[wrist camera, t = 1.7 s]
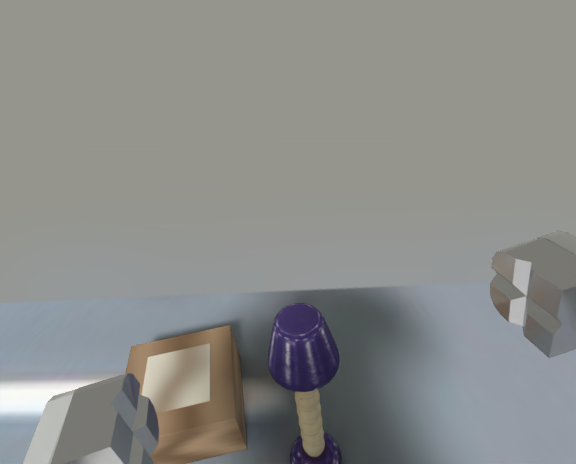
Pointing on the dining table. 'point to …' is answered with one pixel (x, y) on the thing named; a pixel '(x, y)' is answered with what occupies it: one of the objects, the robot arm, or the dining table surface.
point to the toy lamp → (305, 376)
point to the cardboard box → (193, 394)
